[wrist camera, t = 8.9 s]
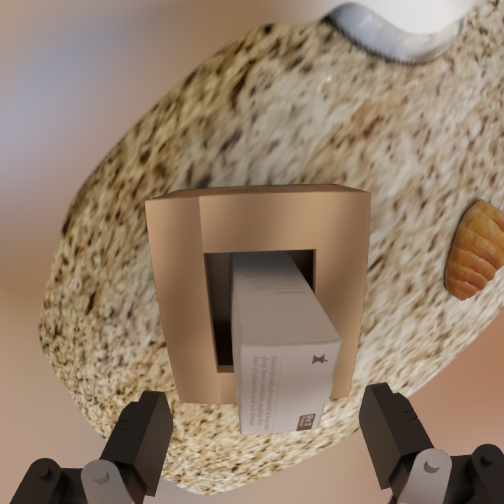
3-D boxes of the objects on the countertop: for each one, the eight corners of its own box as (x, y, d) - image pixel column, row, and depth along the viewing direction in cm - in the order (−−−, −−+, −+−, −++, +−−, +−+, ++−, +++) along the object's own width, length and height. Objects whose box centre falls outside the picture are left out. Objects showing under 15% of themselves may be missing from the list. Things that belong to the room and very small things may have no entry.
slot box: (336, 184, 22) (370, 192, 15) (329, 343, 26) (348, 396, 19) (178, 190, 22) (144, 201, 15) (196, 348, 26) (180, 402, 19)
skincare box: (229, 245, 22) (230, 341, 11) (289, 245, 22) (346, 336, 11) (229, 318, 24) (232, 438, 12) (283, 317, 24) (321, 432, 13)
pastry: (465, 302, 25) (485, 318, 21) (426, 278, 24) (447, 294, 20) (503, 223, 22) (527, 232, 19) (468, 190, 22) (494, 195, 18)
